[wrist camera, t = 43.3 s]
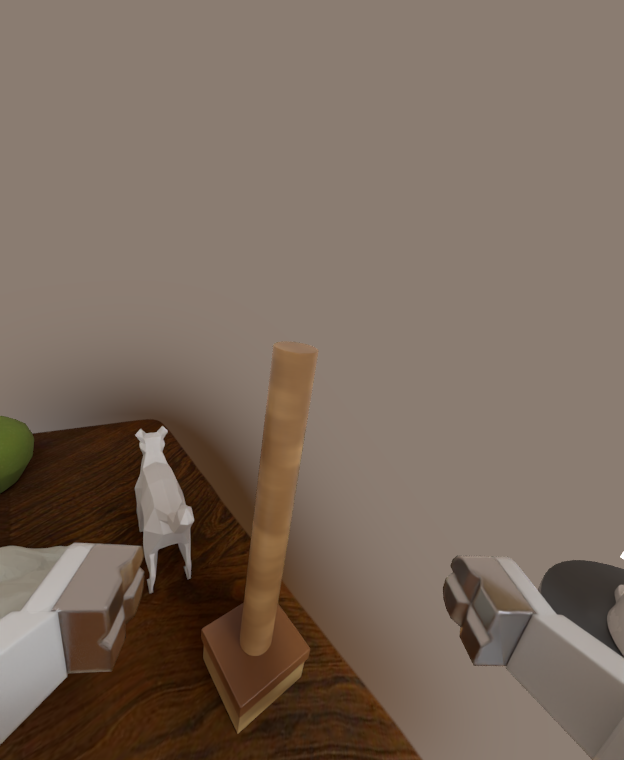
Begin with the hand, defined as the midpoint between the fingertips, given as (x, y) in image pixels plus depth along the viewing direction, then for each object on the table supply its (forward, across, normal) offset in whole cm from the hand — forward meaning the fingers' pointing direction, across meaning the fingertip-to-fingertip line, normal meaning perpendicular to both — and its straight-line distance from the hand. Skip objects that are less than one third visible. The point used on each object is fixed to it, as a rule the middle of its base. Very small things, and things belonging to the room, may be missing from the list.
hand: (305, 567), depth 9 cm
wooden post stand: (+12, 0, +25) cm, 28 cm away
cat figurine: (+23, +11, +25) cm, 36 cm away
